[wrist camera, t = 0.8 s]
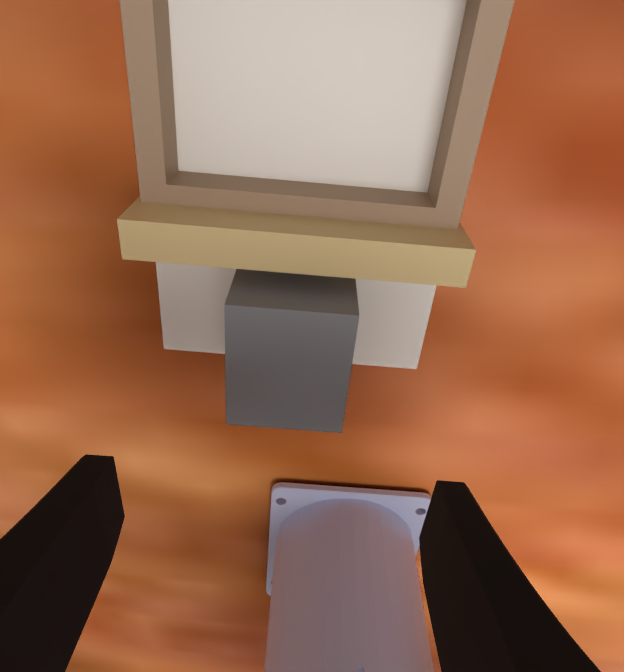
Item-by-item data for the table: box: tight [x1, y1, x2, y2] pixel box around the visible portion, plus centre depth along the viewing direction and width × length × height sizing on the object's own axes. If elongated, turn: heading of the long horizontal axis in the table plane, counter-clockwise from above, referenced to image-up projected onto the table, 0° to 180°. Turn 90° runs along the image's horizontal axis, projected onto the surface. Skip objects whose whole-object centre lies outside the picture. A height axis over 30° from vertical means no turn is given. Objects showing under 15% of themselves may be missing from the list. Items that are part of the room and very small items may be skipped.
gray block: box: [224, 269, 359, 433], centre depth 17 cm, size 4×4×4 cm
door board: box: [117, 0, 514, 369], centre depth 16 cm, size 13×10×4 cm
